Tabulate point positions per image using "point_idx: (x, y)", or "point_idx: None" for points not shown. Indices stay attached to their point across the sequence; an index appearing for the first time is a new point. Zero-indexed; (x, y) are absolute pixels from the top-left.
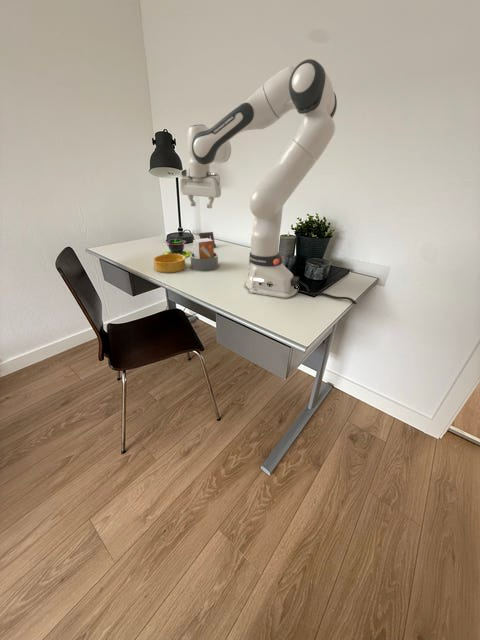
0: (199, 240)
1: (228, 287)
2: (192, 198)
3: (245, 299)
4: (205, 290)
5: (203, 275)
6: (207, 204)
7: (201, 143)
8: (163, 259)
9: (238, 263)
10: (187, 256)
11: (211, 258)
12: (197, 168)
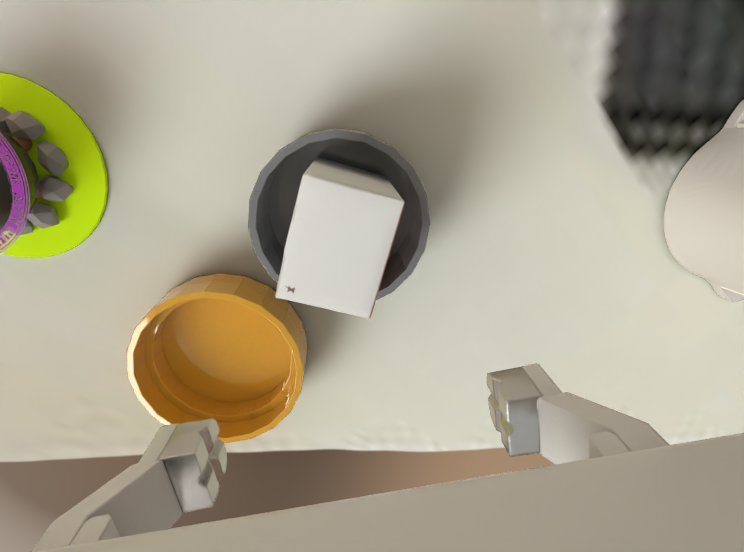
0: (330, 282)
1: (616, 319)
2: (109, 513)
3: (728, 352)
4: None
5: (434, 300)
6: (517, 449)
7: None
8: (147, 351)
9: (456, 12)
10: (101, 153)
11: (426, 240)
12: None
